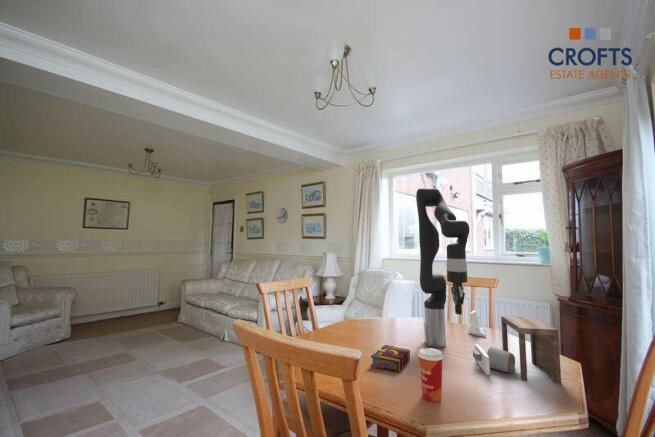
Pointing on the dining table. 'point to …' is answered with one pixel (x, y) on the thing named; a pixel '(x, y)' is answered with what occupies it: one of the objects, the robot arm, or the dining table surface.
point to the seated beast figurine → (476, 325)
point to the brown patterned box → (390, 358)
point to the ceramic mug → (501, 360)
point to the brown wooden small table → (535, 344)
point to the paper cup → (431, 373)
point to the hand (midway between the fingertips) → (458, 314)
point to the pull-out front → (482, 359)
